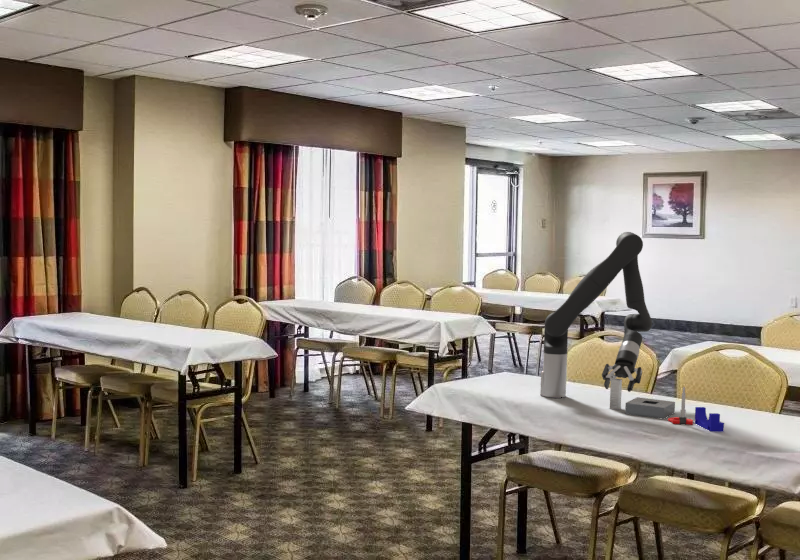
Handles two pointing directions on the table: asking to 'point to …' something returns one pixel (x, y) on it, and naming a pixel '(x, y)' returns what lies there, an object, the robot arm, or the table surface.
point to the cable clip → (708, 420)
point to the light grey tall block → (615, 394)
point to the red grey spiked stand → (681, 414)
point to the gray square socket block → (650, 407)
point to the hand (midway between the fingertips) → (617, 389)
